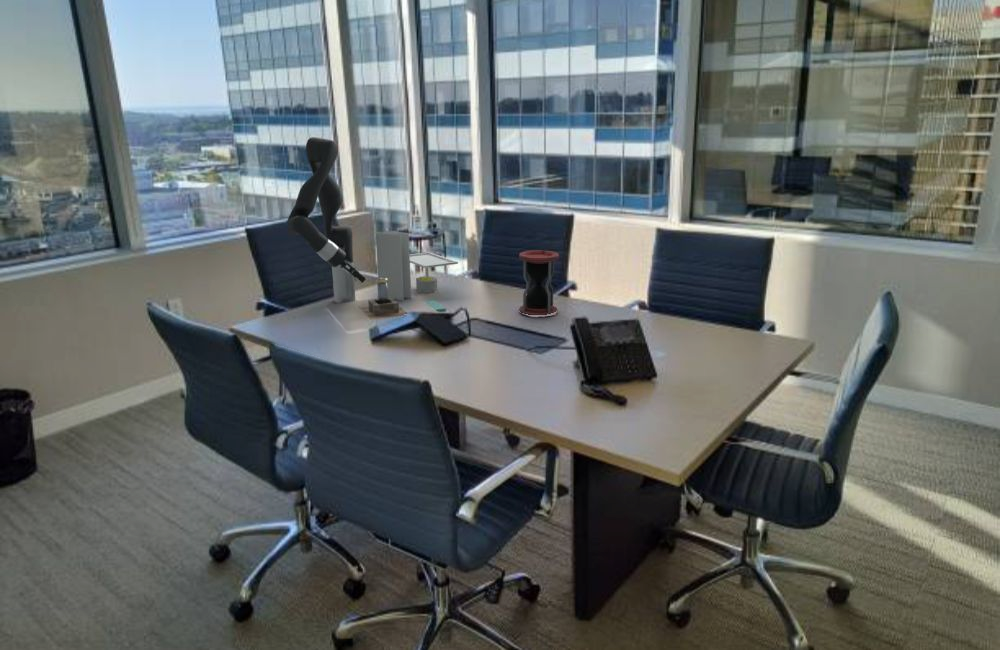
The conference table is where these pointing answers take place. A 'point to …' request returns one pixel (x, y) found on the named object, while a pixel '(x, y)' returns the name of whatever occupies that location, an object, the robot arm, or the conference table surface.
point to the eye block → (383, 309)
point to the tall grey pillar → (394, 262)
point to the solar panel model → (426, 262)
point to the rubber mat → (436, 305)
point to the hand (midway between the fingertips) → (361, 278)
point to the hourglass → (538, 282)
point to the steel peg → (382, 290)
